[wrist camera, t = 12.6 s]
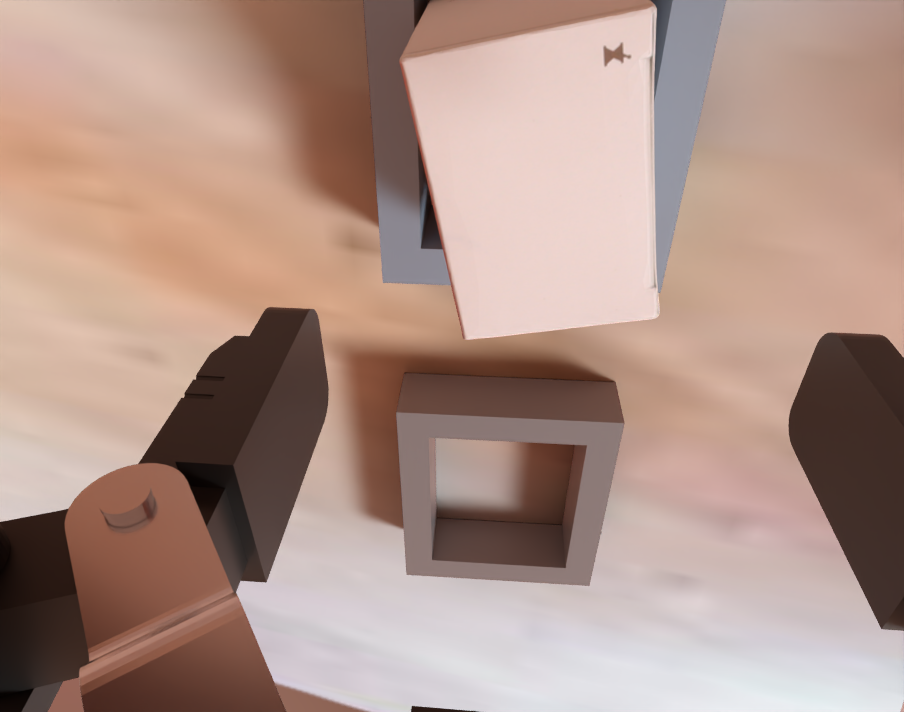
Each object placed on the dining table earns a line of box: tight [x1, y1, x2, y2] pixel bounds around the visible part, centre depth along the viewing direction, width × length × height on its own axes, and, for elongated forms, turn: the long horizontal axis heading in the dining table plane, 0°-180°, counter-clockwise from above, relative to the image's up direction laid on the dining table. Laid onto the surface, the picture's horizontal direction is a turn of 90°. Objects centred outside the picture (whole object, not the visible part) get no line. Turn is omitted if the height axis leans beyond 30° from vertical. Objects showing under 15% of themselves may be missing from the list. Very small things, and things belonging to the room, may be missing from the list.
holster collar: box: [396, 373, 624, 586], centre depth 35 cm, size 10×12×3 cm
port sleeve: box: [363, 0, 726, 293], centre depth 22 cm, size 10×12×4 cm
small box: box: [399, 0, 660, 340], centre depth 20 cm, size 8×6×10 cm
